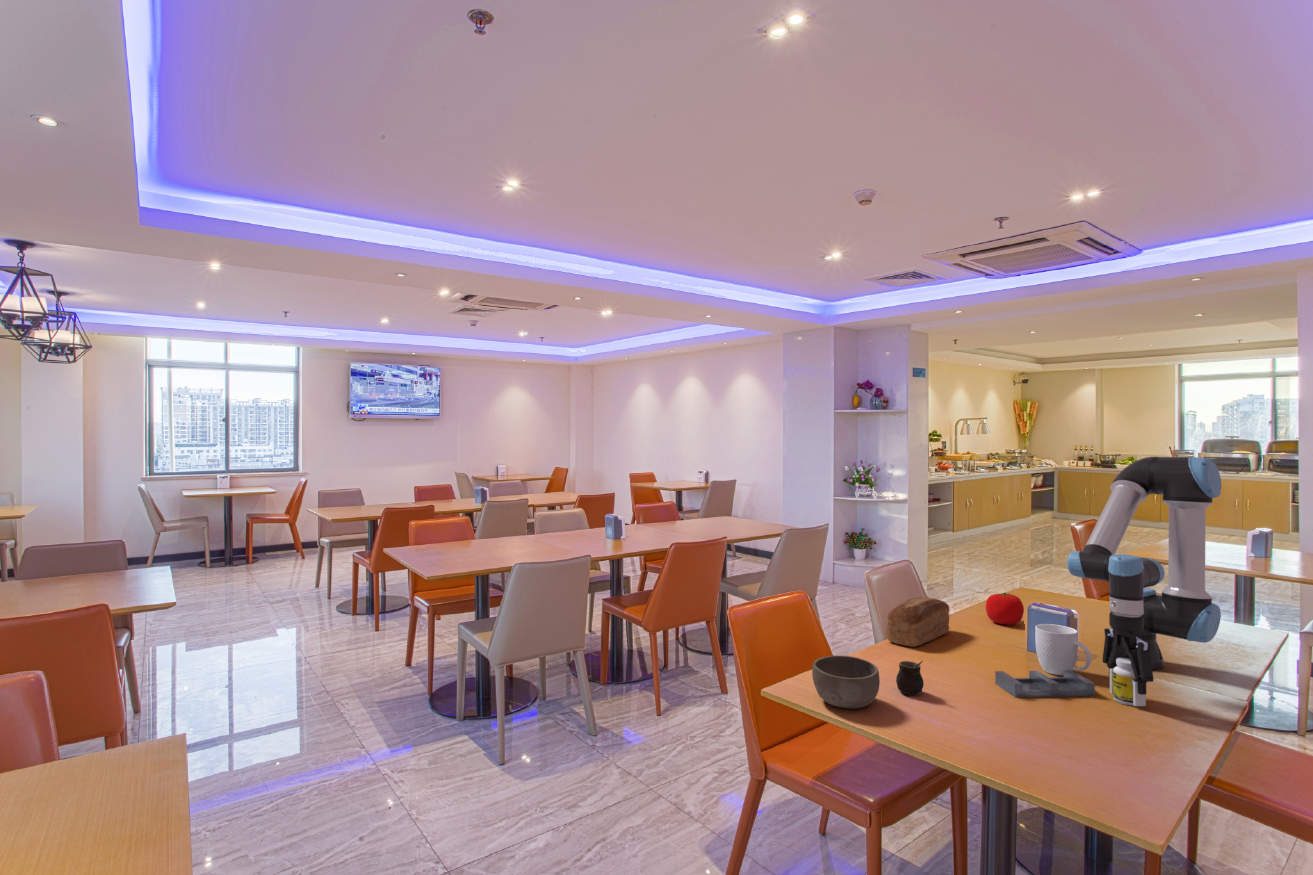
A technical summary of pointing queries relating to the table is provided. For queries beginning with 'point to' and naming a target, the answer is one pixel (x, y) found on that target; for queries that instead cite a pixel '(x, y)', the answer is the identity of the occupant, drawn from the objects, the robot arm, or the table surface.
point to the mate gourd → (909, 678)
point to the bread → (918, 621)
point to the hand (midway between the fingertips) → (1127, 699)
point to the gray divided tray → (1046, 685)
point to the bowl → (846, 681)
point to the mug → (1058, 648)
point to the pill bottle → (1123, 681)
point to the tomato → (1004, 609)
